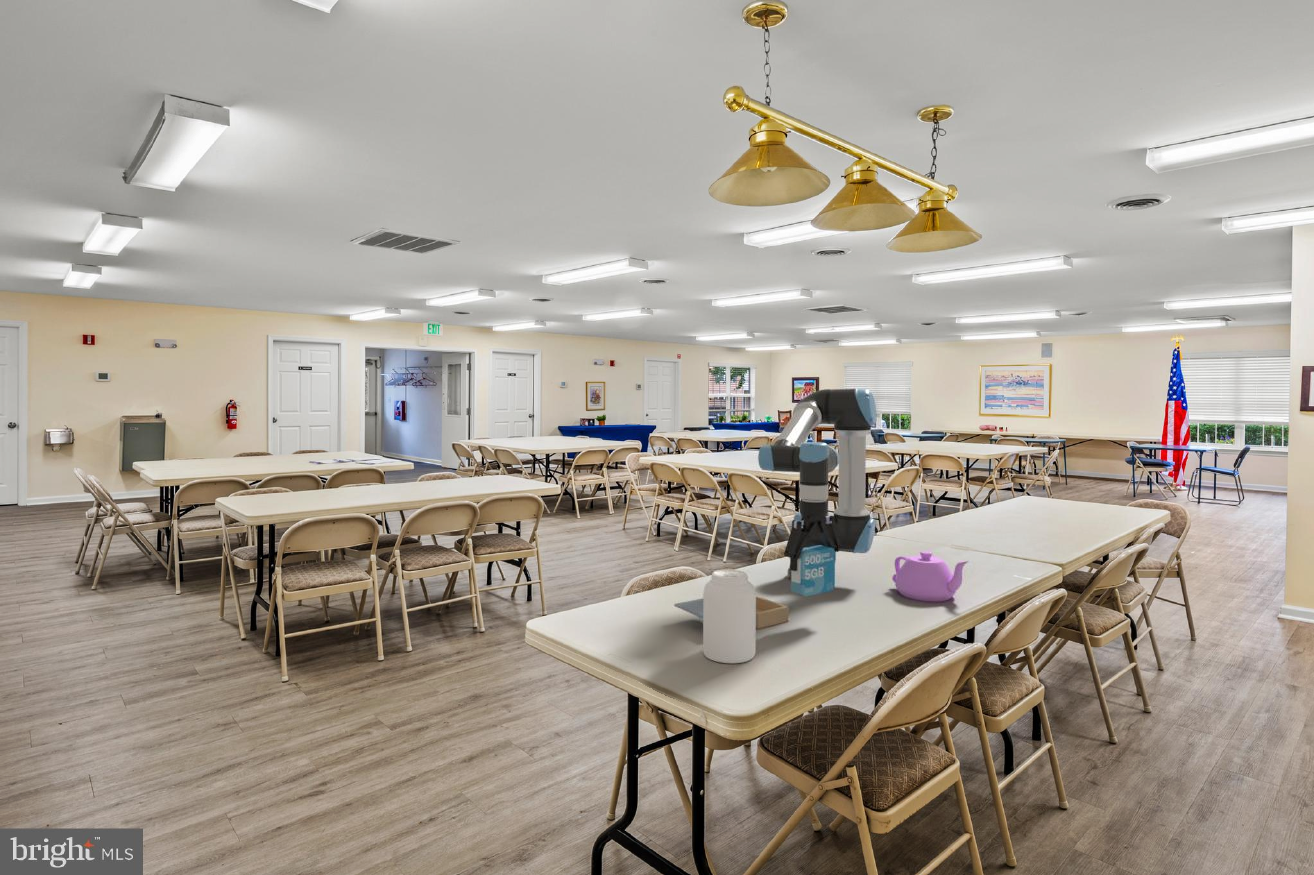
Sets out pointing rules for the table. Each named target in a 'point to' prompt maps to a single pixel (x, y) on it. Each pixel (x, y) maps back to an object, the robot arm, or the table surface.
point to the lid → (692, 607)
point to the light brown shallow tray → (770, 612)
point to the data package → (816, 571)
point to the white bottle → (729, 617)
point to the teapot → (927, 578)
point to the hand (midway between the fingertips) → (813, 578)
